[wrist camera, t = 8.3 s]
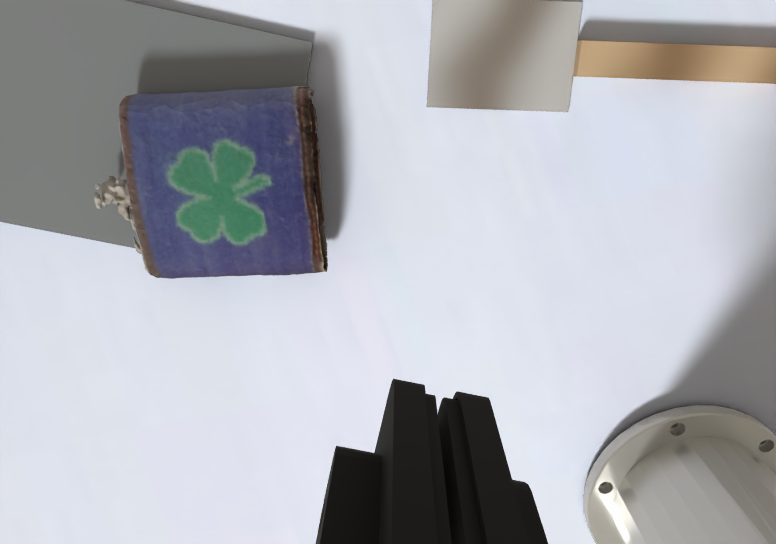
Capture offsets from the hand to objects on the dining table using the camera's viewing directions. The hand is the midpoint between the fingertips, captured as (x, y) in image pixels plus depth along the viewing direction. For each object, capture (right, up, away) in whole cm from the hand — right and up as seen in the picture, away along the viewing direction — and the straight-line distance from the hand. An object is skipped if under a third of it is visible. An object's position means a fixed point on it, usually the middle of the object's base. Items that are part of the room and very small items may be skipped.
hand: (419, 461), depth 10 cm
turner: (+9, +14, +19) cm, 25 cm away
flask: (-4, +8, +19) cm, 21 cm away
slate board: (-14, +10, +20) cm, 26 cm away
